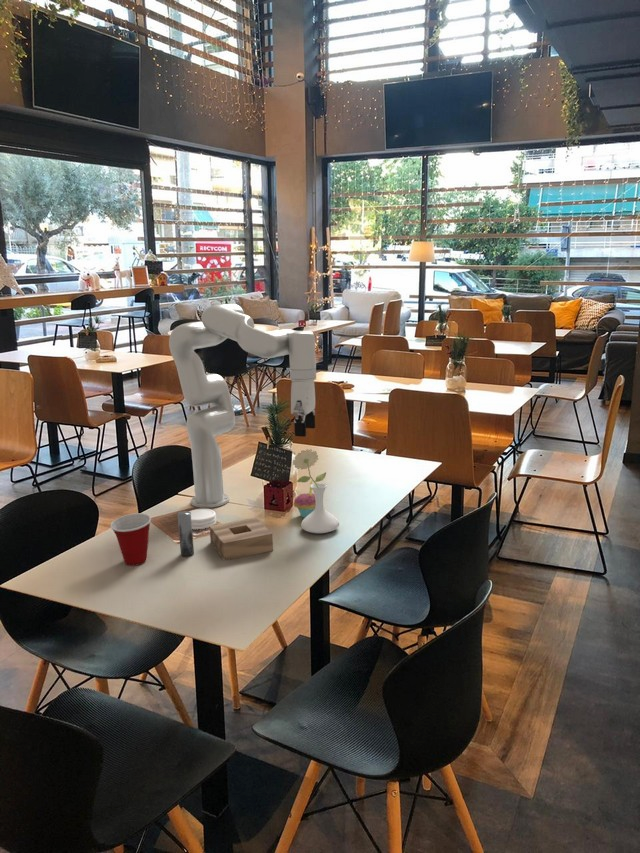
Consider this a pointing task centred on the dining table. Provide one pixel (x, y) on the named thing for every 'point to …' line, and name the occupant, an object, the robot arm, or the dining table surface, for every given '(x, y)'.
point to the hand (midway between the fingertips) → (305, 432)
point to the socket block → (241, 538)
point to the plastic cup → (132, 537)
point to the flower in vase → (319, 517)
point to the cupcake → (305, 503)
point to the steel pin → (185, 533)
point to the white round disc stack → (202, 518)
